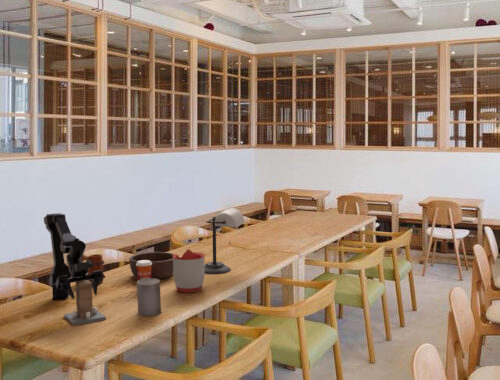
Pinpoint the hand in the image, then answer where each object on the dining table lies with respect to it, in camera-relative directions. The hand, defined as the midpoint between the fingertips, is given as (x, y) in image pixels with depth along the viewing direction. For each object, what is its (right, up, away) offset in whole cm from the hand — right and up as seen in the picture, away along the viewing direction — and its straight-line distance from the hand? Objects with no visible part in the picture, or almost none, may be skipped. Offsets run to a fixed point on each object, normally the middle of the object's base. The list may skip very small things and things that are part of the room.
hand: (85, 296), depth 232 cm
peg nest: (-1, -9, +2) cm, 10 cm away
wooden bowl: (+16, -2, +70) cm, 72 cm away
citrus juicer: (+37, -5, +44) cm, 58 cm away
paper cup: (+16, -5, +43) cm, 47 cm away
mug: (-14, -4, +57) cm, 58 cm away
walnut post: (-1, -8, +2) cm, 8 cm away
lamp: (+51, -1, +81) cm, 95 cm away
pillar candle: (+25, -9, +9) cm, 28 cm away
